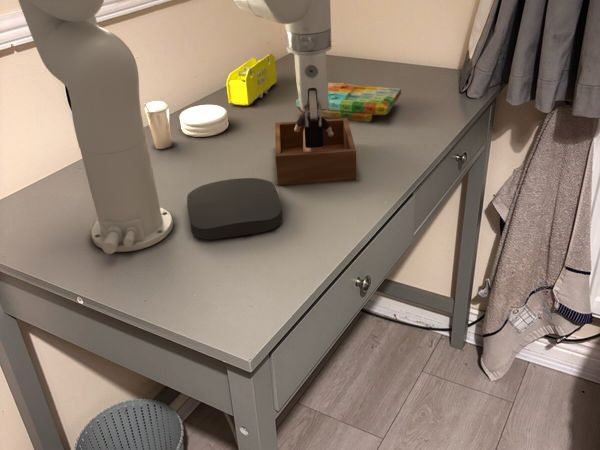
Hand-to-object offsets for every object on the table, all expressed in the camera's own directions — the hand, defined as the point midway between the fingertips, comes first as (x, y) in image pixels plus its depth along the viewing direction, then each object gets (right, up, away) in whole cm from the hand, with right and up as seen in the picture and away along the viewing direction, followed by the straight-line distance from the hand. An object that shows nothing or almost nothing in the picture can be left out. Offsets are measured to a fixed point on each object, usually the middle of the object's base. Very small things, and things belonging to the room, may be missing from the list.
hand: (313, 139), depth 115 cm
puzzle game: (+8, +9, +24) cm, 27 cm away
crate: (0, -4, +3) cm, 5 cm away
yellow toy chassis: (-13, +15, +35) cm, 41 cm away
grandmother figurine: (0, -4, +2) cm, 4 cm away
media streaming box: (-13, -14, -11) cm, 22 cm away
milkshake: (-30, 0, +13) cm, 33 cm away
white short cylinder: (-23, +5, +20) cm, 30 cm away
